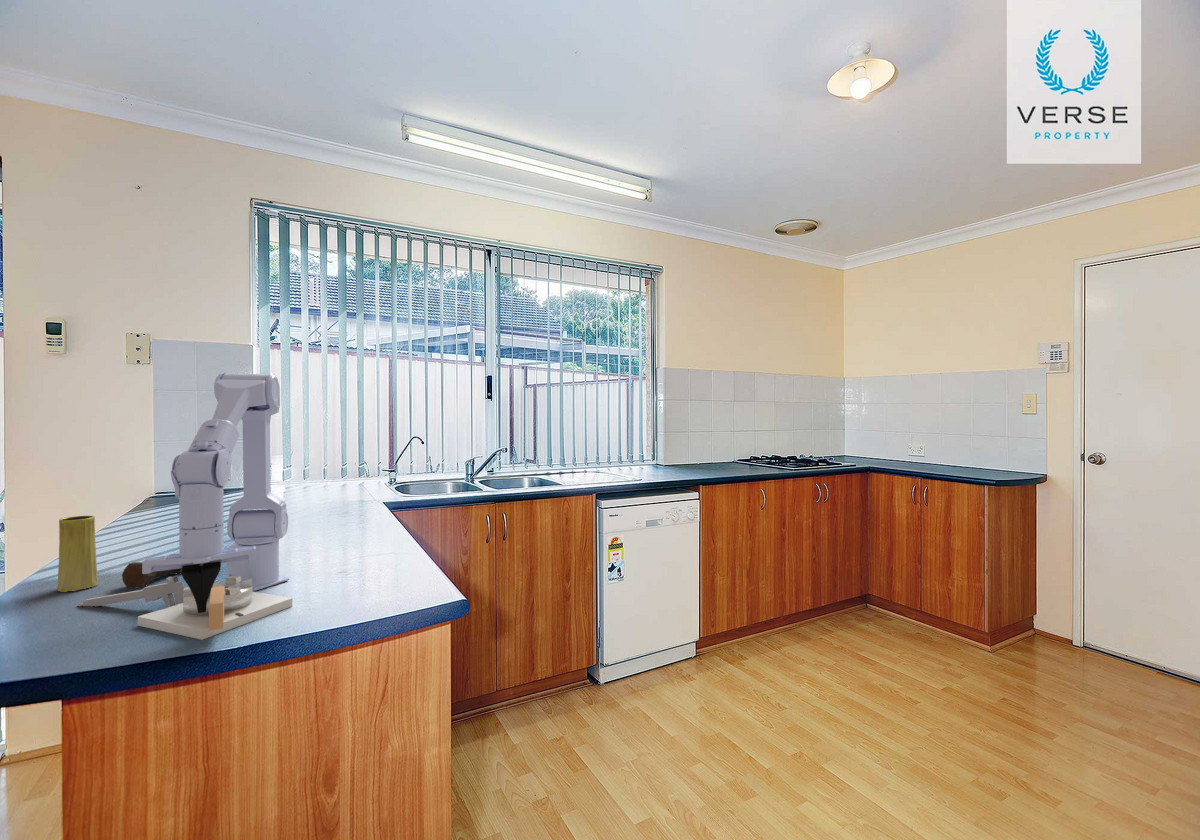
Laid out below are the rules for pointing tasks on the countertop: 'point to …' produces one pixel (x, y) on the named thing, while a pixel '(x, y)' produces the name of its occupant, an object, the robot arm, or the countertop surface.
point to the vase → (77, 553)
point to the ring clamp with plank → (221, 599)
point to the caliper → (145, 594)
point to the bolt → (142, 575)
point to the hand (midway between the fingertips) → (202, 610)
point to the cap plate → (199, 624)
